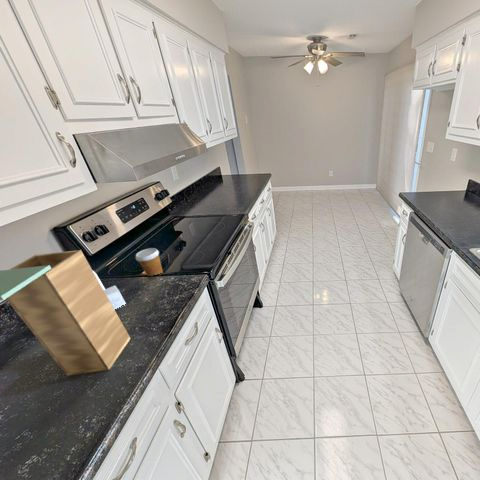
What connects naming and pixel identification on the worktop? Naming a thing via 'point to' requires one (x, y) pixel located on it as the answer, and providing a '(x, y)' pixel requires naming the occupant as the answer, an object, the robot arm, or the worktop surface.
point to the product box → (114, 297)
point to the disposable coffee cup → (150, 261)
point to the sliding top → (18, 279)
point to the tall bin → (70, 313)
